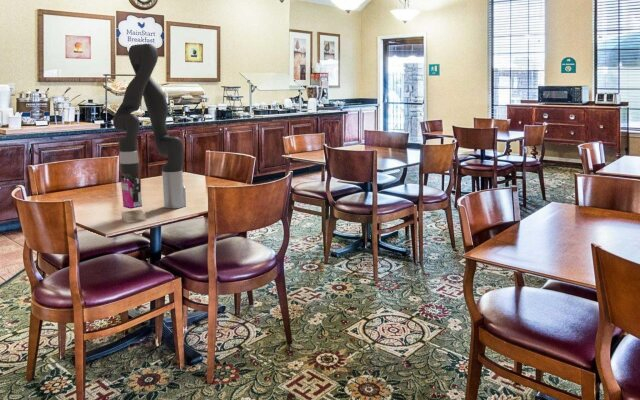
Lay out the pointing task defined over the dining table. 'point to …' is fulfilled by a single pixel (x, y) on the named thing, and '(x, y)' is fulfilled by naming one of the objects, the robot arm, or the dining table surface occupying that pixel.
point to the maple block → (133, 216)
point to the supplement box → (129, 196)
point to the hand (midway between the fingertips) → (132, 200)
